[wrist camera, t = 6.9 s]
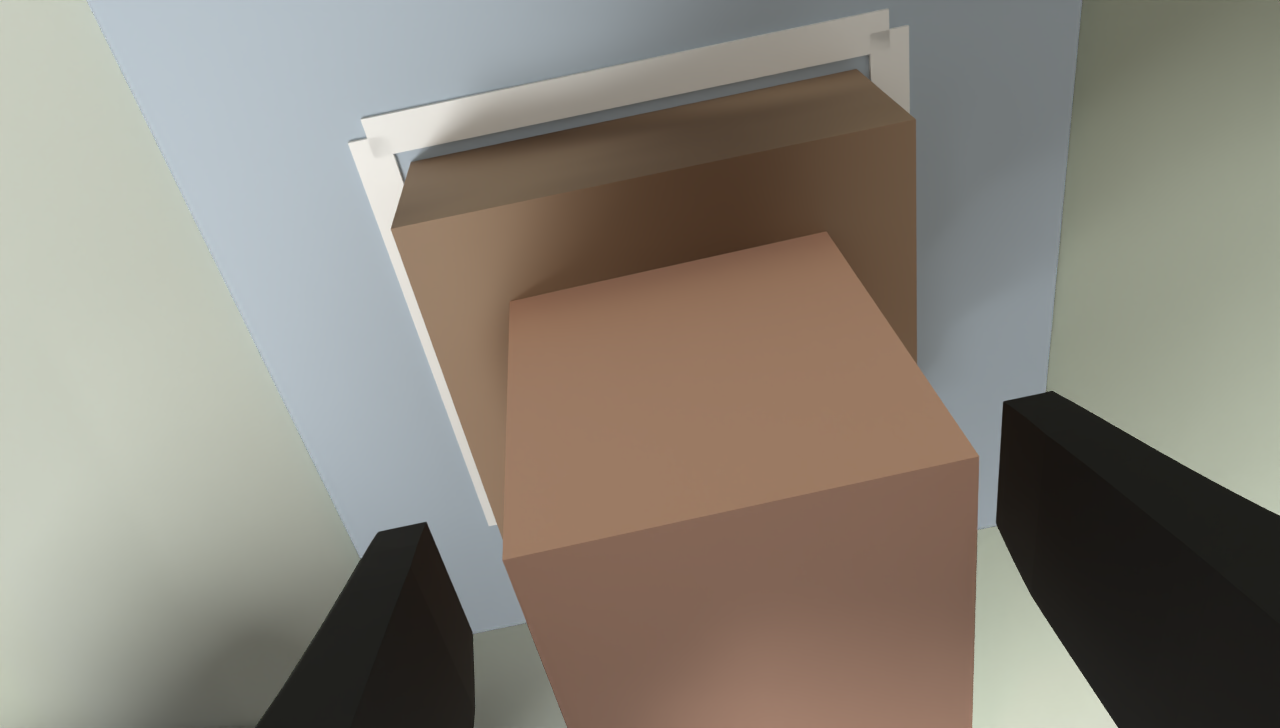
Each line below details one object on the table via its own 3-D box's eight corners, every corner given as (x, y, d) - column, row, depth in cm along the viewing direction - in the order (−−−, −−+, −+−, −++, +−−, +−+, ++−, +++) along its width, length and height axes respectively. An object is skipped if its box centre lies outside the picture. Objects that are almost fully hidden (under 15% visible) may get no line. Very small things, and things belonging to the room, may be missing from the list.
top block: (581, 532, 15) (603, 820, 11) (509, 300, 12) (501, 560, 8) (846, 474, 15) (971, 741, 11) (826, 231, 12) (979, 456, 8)
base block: (521, 497, 18) (521, 592, 16) (410, 161, 14) (390, 229, 12) (870, 425, 18) (917, 510, 16) (856, 68, 14) (915, 119, 12)
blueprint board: (406, 633, 20) (403, 651, 20) (82, -38, 12) (68, -32, 12) (1025, 505, 20) (1035, 519, 19) (1090, -250, 12) (1108, -251, 12)
